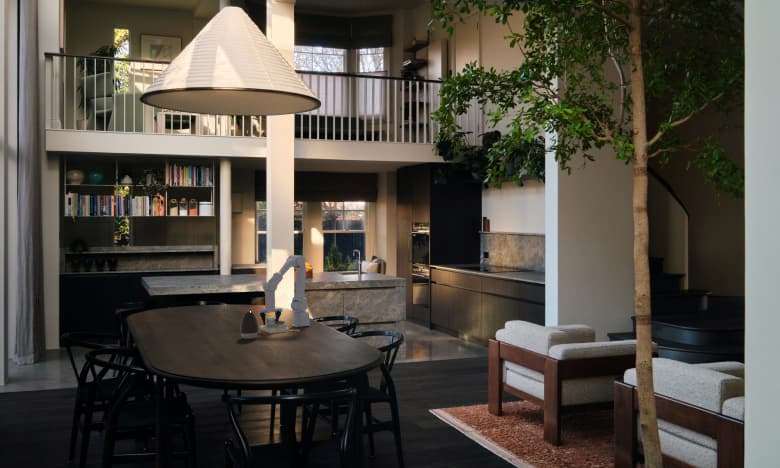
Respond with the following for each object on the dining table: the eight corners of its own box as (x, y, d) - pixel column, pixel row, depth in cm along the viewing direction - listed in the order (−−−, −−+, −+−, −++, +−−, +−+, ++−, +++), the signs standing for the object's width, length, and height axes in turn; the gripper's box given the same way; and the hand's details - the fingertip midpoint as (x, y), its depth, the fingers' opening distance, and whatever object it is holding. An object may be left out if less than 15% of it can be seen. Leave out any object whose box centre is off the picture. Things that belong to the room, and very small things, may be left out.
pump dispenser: (261, 336, 400) (260, 310, 399) (255, 339, 389) (255, 312, 389) (243, 336, 401) (243, 310, 400) (237, 339, 390) (237, 312, 390)
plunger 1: (276, 323, 431) (276, 318, 431) (278, 324, 428) (278, 319, 428) (271, 323, 430) (271, 318, 429) (273, 324, 426) (272, 319, 426)
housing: (278, 327, 434) (278, 320, 433) (289, 331, 417) (289, 324, 417) (259, 329, 428) (259, 322, 428) (269, 333, 411) (269, 326, 411)
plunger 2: (282, 325, 421) (282, 320, 421) (284, 326, 418) (284, 321, 418) (277, 326, 420) (276, 321, 420) (278, 326, 417) (278, 321, 417)
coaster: (297, 329, 423) (297, 329, 423) (301, 331, 417) (301, 330, 417) (287, 330, 420) (287, 329, 420) (291, 332, 414) (291, 331, 414)
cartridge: (273, 326, 425) (272, 317, 425) (275, 327, 421) (275, 318, 421) (265, 326, 423) (265, 317, 423) (268, 327, 419) (268, 318, 419)
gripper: (279, 300, 428) (280, 322, 429) (256, 302, 422) (256, 324, 422) (283, 301, 422) (283, 324, 422) (260, 303, 415) (260, 326, 416)
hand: (270, 324), depth 422 cm, fingers open, 7 cm apart
